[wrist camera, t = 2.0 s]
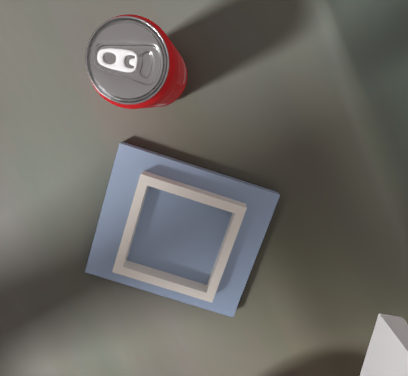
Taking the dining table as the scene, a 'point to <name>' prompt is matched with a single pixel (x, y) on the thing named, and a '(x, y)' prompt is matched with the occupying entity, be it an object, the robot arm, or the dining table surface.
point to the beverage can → (134, 63)
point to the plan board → (179, 229)
